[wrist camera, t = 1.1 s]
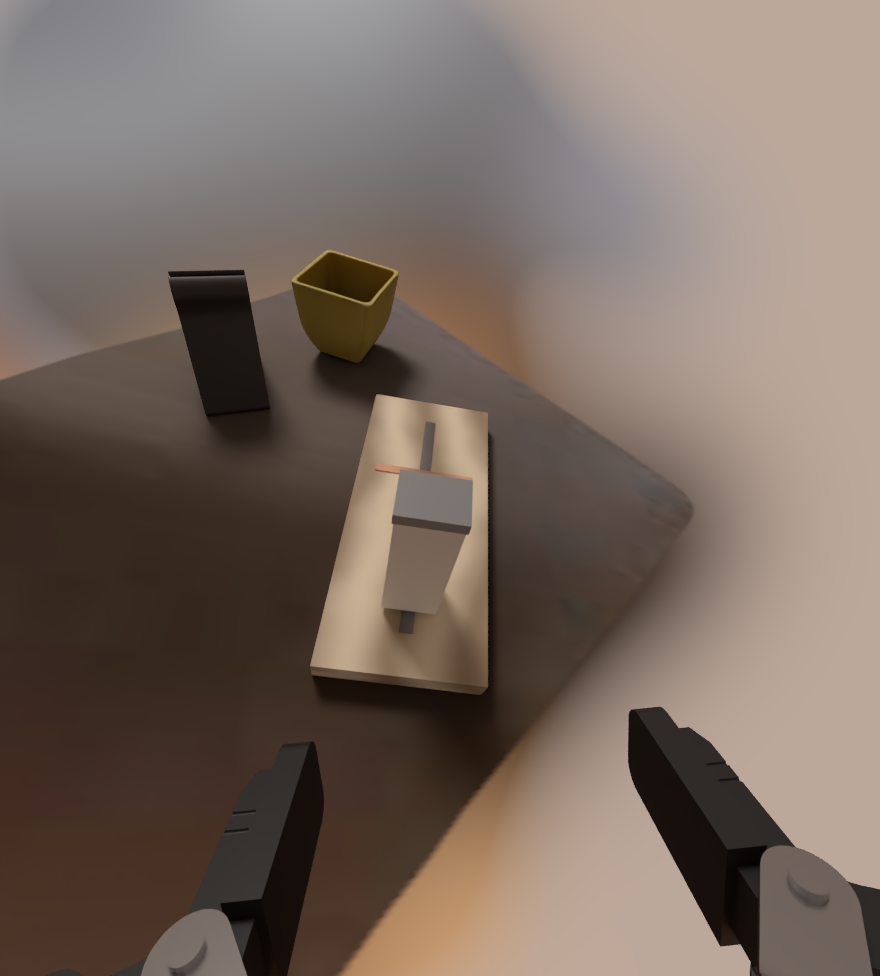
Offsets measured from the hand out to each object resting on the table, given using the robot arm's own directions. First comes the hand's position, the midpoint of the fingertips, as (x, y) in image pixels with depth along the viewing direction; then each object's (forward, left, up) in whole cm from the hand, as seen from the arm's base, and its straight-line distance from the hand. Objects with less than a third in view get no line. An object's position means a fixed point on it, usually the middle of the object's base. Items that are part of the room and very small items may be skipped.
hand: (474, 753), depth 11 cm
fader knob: (-1, +13, -18) cm, 23 cm away
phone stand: (-22, +35, -21) cm, 46 cm away
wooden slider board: (-1, +21, -21) cm, 30 cm away
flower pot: (-12, +45, -21) cm, 51 cm away
